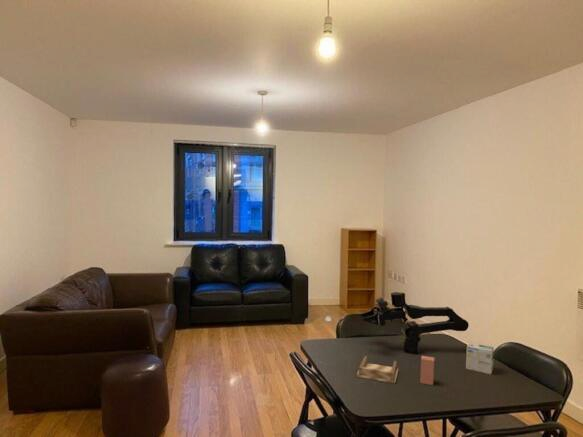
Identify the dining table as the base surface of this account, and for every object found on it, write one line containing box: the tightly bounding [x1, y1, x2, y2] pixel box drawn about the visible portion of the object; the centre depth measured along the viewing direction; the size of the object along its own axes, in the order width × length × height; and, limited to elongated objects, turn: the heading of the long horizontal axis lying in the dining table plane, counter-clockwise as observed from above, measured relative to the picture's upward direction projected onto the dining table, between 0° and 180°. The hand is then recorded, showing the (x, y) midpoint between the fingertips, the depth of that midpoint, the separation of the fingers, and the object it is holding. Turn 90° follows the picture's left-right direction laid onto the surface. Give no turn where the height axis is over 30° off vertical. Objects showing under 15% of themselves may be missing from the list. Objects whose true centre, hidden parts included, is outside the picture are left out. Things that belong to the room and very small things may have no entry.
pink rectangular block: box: [419, 355, 435, 386], centre depth 166 cm, size 5×4×10 cm
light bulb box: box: [465, 342, 495, 375], centre depth 181 cm, size 11×7×11 cm, turn 58°
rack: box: [356, 355, 399, 384], centre depth 173 cm, size 16×14×4 cm
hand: (361, 317), depth 201 cm, fingers open, 9 cm apart
